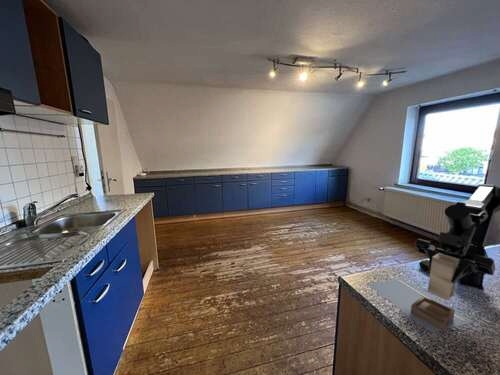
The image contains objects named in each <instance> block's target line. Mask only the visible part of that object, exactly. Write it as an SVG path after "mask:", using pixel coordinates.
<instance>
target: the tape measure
mask: <svg viewBox="0 0 500 375" xmlns="http://www.w3.org/2000/svg"><path fill="white" fill-rule="evenodd" d="M418 264H419V269H421V270H422V271H424V273H425V272H426V273H427V274H430V262H429V259H424V260H421V261H419V263H418Z"/></svg>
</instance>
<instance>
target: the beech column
mask: <svg viewBox="0 0 500 375" xmlns="http://www.w3.org/2000/svg"><path fill="white" fill-rule="evenodd" d="M459 260H460V259H457V258H454V257H451V256H448V255H445V254H441V253H438V254H436V255H435V256H433V257H432V263H431V271H430V273H429V279H428V284H427V285H428V286H427V292H428V294H429V293H430V294H432V296H433V295H434V296H435V297H439V298H441V299H443V300H445V301H447V302H448V300H450V299H451V298H453V297H454V296H455V290H456V284H457V281H456V282H455V283H452V278H453V276H454V274H455V272H456V271H457V269H458V267H459Z"/></svg>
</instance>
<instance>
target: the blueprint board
mask: <svg viewBox="0 0 500 375" xmlns="http://www.w3.org/2000/svg"><path fill="white" fill-rule="evenodd" d="M367 285H368V286H369V287H371V288H372V289H373V290H375V291H376V292H377V293H378V294H380V295H381V296H383V297H384V298H385V299H386V300H388V302H390V303H391V304H393V305H394V306H396V307H397V308H398V309H399V310H401V311H402V312H403V313H404V314H406V315H408V316H409V317H410V318H412V319H413V320H414V321H415V322H417V323H418V324H419V325H421V326H422V327H423V328H425V329H426V330H428V331H429V332H430V333H431V334H432V333H433V334H434V333H436V332H440V331H445V330H449V329H452V328H455V327H460V326H464V325H467V324H471V323H474V322H475V321H473V320H472V319H470V318H469V317H467V316H465V315H464V314H462V313H460V312H459V311H457V310H455V309H453V307H451V306H448V305H447V304H446V303H444V302H442V301H440V299H437V298H435V297H434V296H433V295H430V294H429V293H427V291H424V290H422V289H420V288H419V287H418V286H416V285H414V284H412V283H410V282H409V281H407V280H405V279H404V278H403V277H398V278H394V279H393V278H392V279H389V280H388V279H387V280H383V281H377V282H372V283H367ZM422 296H424V297H426V298H429V299H431V300H433V301H435V302H438V303H440V304H442V305H444V306H446V307H449V308H451V309H453V310H455V311H454V318H453V320H452V321H451V322H450V323H449V324H448V325H447V326H446V327H445V328H444V329H443V330H442V329H440V328H438V327H436V326H434V325H432V324H431V323H429V322H427V321H425V320H423V319H421V318H419V317H417V316H415V315H414V314H412V313H411V305H412V304H413V303H415V302H416V301H417V300H418V299H420V298H421V297H422Z"/></svg>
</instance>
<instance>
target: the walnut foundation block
mask: <svg viewBox="0 0 500 375" xmlns="http://www.w3.org/2000/svg"><path fill="white" fill-rule="evenodd" d="M449 307H450V306H449ZM449 307H446V306H444V305H442V304H440V303H438V302H435V301H433V300H431V299H429V298H426V297H424V296H422V297H421V298H420V299H418V300H417V301H416V302H415V303H413V304H412V305H411V313H412V314H414V315H415V316H417V317H419V318H421V319H423V320H425V321H427V322H429V323H431V324H432V325H434V326H436V327H438V328H440V329H442V330H441V331H444V330H443V329H444V328H445V327H446V326H447V325H448V324H449V323H450V322H451V321H452V320H453V318H454V311H455V309H454V310H453V308H452V307H451V308H452V309H451V308H449Z"/></svg>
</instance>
